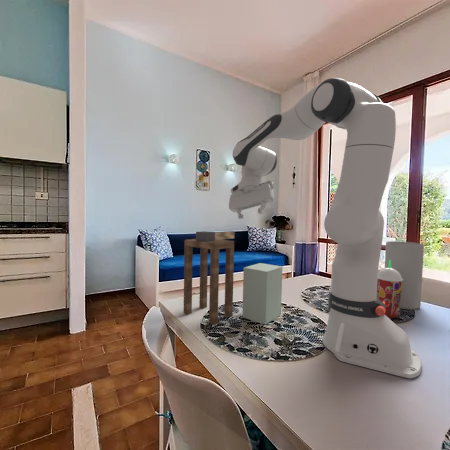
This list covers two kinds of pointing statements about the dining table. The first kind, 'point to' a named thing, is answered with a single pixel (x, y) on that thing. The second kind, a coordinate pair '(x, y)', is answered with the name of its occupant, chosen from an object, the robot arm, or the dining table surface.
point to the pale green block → (262, 292)
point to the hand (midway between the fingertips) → (250, 216)
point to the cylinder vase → (407, 270)
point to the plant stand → (214, 276)
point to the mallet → (213, 236)
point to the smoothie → (389, 290)
